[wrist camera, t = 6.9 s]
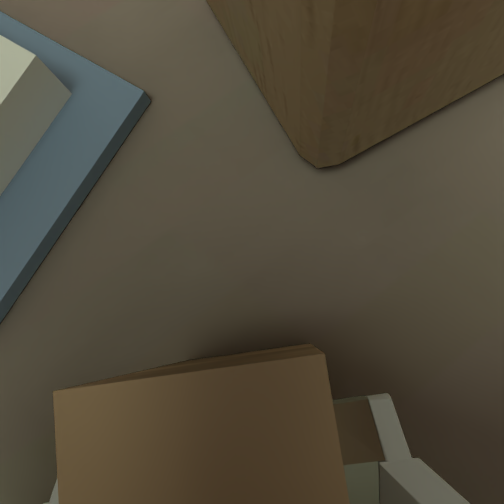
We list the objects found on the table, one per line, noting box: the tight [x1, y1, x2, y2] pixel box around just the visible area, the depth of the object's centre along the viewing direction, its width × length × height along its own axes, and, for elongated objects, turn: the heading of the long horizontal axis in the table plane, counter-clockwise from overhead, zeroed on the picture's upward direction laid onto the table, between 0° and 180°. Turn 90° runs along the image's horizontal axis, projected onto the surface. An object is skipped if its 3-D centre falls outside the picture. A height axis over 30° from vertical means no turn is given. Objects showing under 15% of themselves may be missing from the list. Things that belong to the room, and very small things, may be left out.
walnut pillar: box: [53, 343, 350, 504], centre depth 11 cm, size 4×4×9 cm
